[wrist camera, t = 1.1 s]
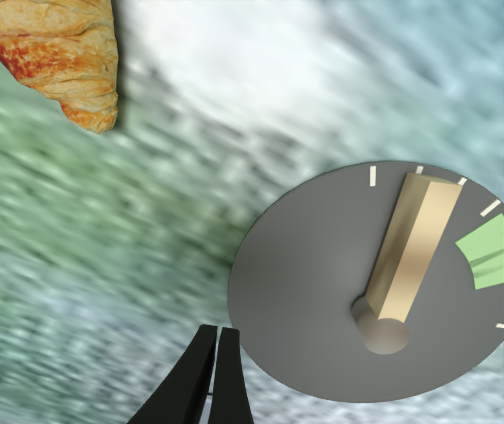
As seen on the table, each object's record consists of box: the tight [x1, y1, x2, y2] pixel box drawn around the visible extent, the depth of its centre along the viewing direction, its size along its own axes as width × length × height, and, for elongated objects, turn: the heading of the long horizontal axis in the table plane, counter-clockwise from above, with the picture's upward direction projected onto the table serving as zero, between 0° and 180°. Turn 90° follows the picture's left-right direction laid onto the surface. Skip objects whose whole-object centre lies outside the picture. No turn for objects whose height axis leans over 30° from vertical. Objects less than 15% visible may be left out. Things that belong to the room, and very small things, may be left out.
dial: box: [228, 161, 504, 403], centre depth 19 cm, size 21×21×1 cm
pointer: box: [352, 173, 463, 354], centre depth 15 cm, size 11×3×2 cm, turn 173°
